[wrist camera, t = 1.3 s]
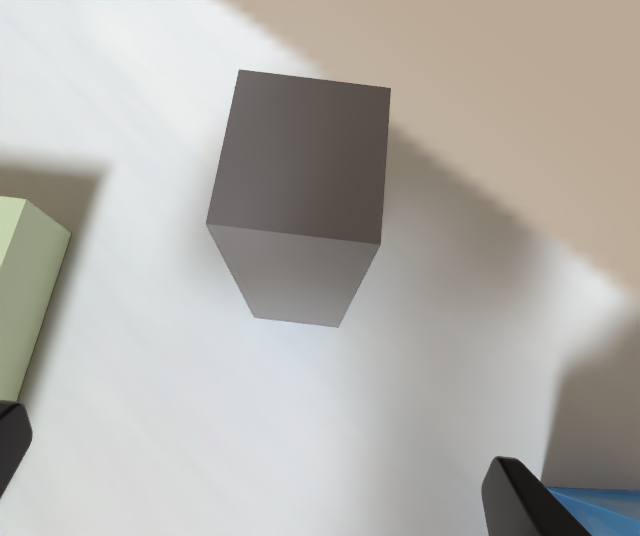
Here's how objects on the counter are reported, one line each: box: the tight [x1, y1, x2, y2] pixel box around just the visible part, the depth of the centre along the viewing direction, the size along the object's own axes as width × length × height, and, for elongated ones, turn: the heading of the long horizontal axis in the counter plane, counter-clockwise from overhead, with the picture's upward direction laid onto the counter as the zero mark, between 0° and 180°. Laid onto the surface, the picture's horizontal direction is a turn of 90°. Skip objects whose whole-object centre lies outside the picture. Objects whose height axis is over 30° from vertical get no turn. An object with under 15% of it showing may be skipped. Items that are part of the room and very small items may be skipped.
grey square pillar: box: [206, 70, 391, 327], centre depth 17 cm, size 5×4×12 cm
